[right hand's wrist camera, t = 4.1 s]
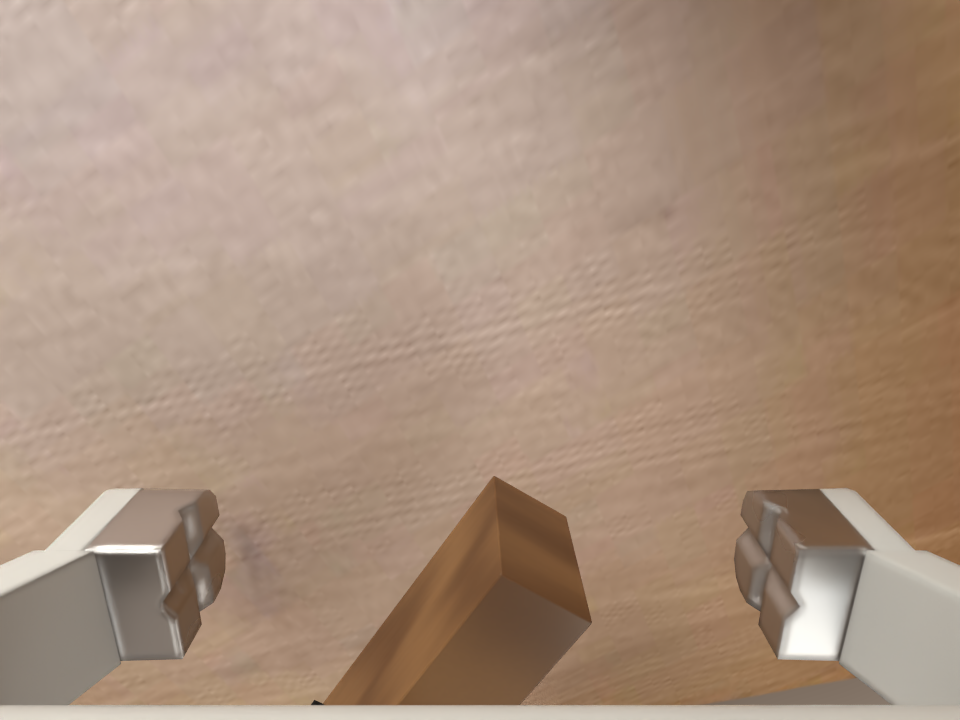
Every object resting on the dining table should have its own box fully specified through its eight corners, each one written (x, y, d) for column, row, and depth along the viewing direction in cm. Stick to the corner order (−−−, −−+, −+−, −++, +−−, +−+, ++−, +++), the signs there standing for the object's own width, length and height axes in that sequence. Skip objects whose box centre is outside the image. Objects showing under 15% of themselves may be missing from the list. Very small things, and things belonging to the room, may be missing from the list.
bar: (493, 474, 34) (501, 574, 27) (566, 516, 35) (593, 623, 28) (283, 755, 41) (243, 896, 34) (349, 783, 42) (324, 927, 35)
